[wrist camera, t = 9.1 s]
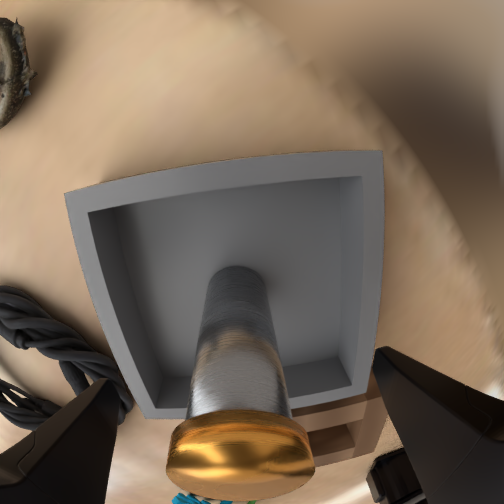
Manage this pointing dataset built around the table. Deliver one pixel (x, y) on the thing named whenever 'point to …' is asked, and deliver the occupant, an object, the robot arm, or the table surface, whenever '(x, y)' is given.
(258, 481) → the pin
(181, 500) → the gear
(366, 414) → the block
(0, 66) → the pulley block
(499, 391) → the table surface
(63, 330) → the cable
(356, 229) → the tray
